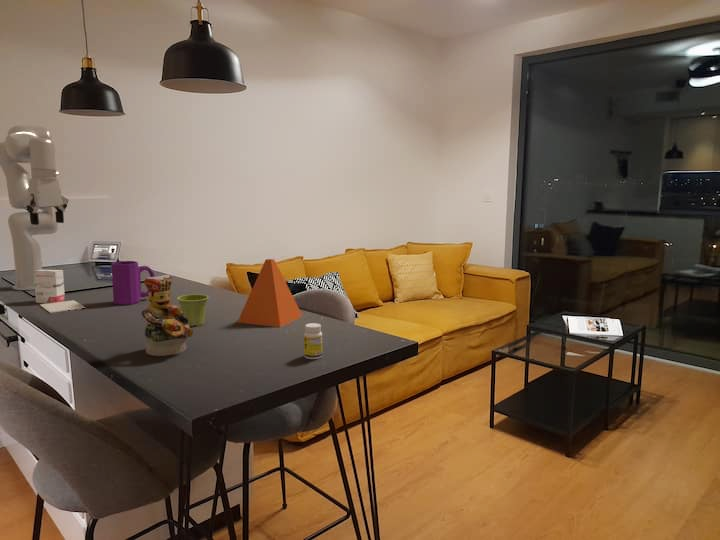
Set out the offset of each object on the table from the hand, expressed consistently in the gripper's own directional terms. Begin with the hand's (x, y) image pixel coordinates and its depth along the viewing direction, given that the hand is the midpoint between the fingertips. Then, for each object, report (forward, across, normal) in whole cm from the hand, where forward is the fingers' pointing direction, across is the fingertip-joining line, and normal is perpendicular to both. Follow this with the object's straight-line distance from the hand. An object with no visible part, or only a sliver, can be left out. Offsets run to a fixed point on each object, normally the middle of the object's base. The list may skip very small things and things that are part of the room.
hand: (47, 223), depth 187 cm
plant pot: (+29, +2, +65) cm, 71 cm away
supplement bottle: (+28, +16, +114) cm, 118 cm away
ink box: (+30, -2, -5) cm, 30 cm away
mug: (+29, -15, +23) cm, 40 cm away
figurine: (+28, +27, +76) cm, 86 cm away
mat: (+29, +2, +7) cm, 30 cm away
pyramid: (+29, -13, +83) cm, 89 cm away
